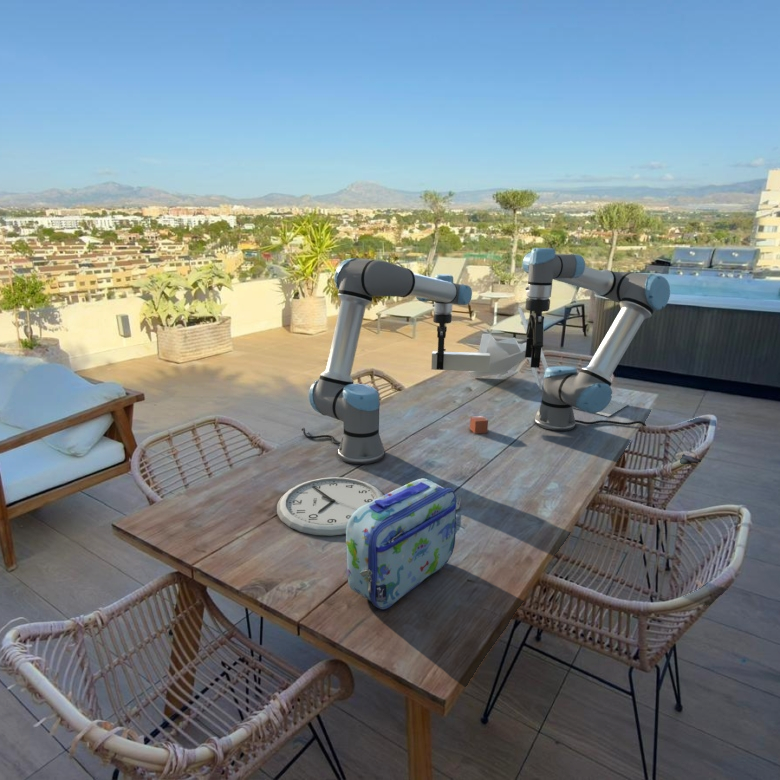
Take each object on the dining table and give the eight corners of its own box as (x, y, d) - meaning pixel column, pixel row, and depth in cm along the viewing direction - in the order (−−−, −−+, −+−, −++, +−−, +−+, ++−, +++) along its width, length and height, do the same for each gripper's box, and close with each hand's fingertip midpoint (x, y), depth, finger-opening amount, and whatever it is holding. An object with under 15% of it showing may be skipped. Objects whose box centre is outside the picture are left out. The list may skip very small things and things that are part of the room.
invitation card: (608, 416, 214) (573, 407, 224) (608, 416, 214) (573, 407, 224) (627, 404, 229) (594, 396, 238) (627, 405, 229) (594, 397, 239)
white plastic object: (488, 419, 266) (468, 396, 241) (469, 346, 288) (449, 319, 263) (559, 395, 254) (545, 368, 229) (533, 321, 276) (519, 290, 251)
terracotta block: (482, 428, 200) (482, 415, 198) (487, 432, 195) (488, 420, 194) (469, 429, 199) (470, 416, 197) (474, 433, 194) (475, 421, 193)
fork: (437, 530, 132) (438, 523, 131) (452, 500, 146) (452, 494, 145) (447, 532, 131) (448, 525, 130) (461, 502, 145) (462, 496, 144)
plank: (488, 369, 222) (489, 353, 220) (488, 371, 218) (490, 355, 216) (431, 366, 225) (432, 351, 223) (431, 369, 221) (431, 353, 219)
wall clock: (392, 527, 129) (269, 531, 127) (392, 533, 130) (269, 537, 127) (383, 473, 158) (282, 475, 155) (383, 478, 158) (283, 480, 156)
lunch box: (375, 622, 100) (376, 527, 94) (339, 595, 108) (338, 505, 101) (459, 565, 118) (465, 481, 112) (424, 545, 125) (427, 465, 119)
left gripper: (434, 309, 224) (432, 362, 231) (432, 316, 208) (430, 372, 215) (451, 310, 223) (449, 363, 230) (451, 316, 207) (448, 373, 214)
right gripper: (521, 292, 180) (516, 353, 186) (531, 302, 156) (525, 371, 162) (544, 293, 179) (537, 354, 185) (557, 303, 155) (549, 372, 162)
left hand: (440, 367), depth 222 cm, fingers closed on plank, 4 cm apart
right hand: (531, 362), depth 174 cm, fingers open, 13 cm apart
